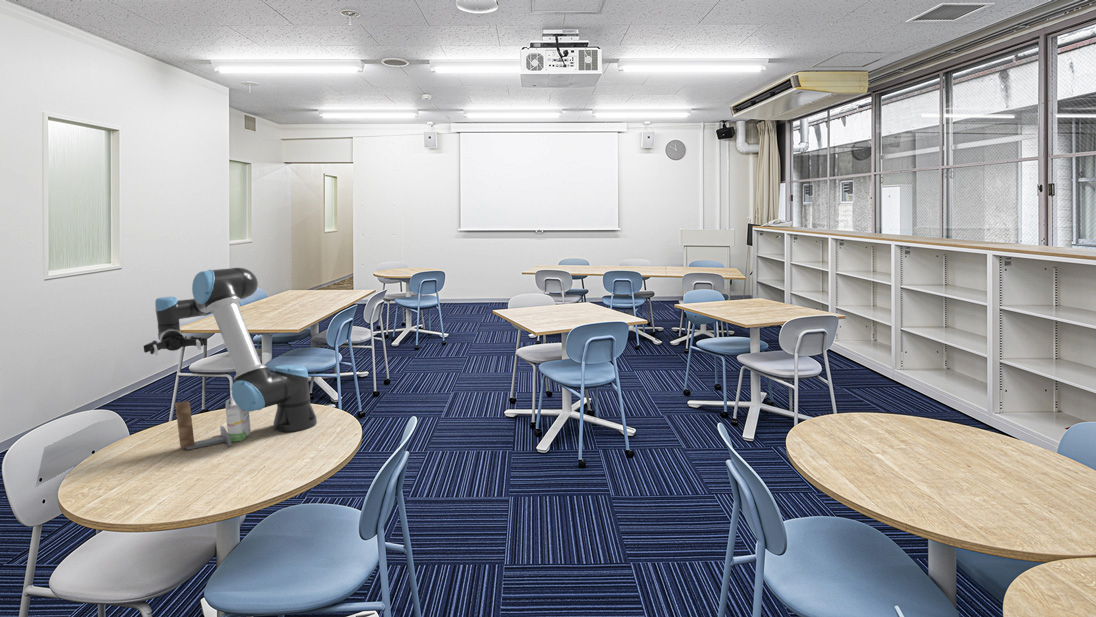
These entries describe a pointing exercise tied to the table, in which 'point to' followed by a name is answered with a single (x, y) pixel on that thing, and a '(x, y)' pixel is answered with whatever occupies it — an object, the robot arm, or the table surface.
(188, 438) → the wooden post on rail
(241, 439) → the ink box
